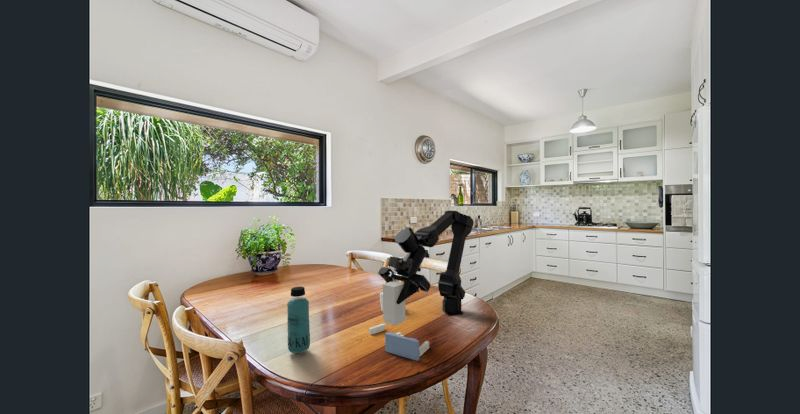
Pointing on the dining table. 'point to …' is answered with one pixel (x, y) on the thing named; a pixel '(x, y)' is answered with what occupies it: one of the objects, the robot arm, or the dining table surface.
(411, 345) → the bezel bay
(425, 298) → the dining table surface
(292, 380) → the dining table surface
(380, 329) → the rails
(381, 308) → the shot glass
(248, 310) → the dining table surface
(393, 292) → the plug block
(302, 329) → the beverage bottle
